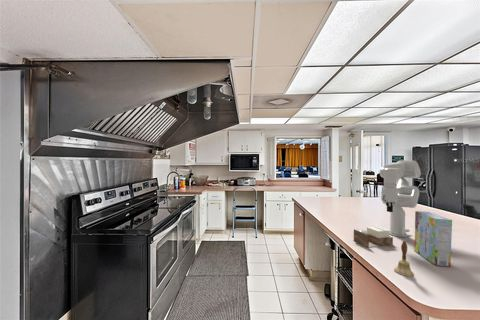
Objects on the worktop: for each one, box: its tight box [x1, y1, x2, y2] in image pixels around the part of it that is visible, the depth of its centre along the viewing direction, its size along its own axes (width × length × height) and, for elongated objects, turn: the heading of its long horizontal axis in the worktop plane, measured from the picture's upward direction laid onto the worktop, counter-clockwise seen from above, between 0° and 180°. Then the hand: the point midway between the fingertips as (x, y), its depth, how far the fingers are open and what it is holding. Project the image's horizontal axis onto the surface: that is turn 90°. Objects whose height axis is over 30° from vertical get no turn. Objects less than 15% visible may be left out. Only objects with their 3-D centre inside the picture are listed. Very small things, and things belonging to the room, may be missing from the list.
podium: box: [353, 229, 394, 248], centre depth 161 cm, size 21×13×8 cm, turn 104°
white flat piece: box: [356, 229, 367, 233], centre depth 180 cm, size 7×7×3 cm
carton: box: [366, 226, 390, 238], centre depth 162 cm, size 9×10×4 cm
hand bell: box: [393, 240, 415, 277], centre depth 119 cm, size 8×8×16 cm
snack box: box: [413, 210, 453, 268], centre depth 136 cm, size 22×9×26 cm, turn 168°
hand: (389, 211), depth 165 cm, fingers closed
